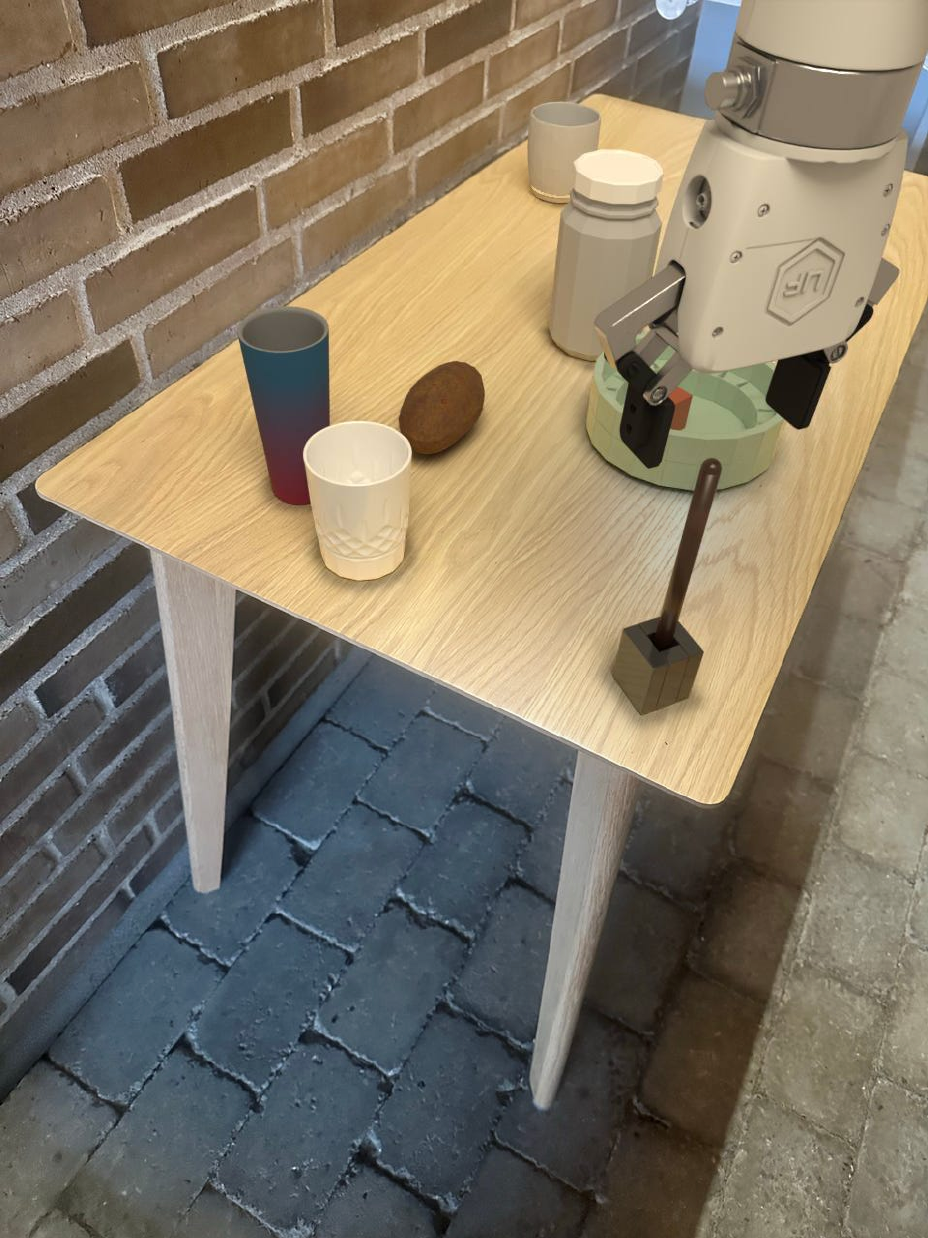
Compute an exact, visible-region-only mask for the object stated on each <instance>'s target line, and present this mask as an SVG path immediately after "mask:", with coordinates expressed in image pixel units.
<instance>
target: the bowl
mask: <svg viewBox="0 0 928 1238" xmlns="http://www.w3.org/2000/svg"><path fill="white" fill-rule="evenodd" d="M648 332H649V331H646V332H642V333H641V334H637V336H636V339H635V343H636V346H637V345H638V344H639V343H640V341H641V340H642V339H643V338H644V337H645V336H646V334H647V333H648ZM676 334H677V335H678V333H676ZM675 352H676V351H675V350H674V349H673V348H672V347H671V346H668V347H667V348H666V349H665V350H664V351H663V353H662V354H661V355H660V356H659V357H658V358H657V359H656V361H655V362H654V363H653V364H652V365H651V366H650V368H651V369H652V370H653V371H654V372H655V373H656V374H657V373H658V371H659V370H660V369H661V368H662V367H663V366H664V365H665V363H666V362H667V361H668V360H669V359H670V358H671V357H672V355H673V354H674V353H675ZM775 367H776V364H775V363H774V361H772V362H767V363H763V364H759V365H754V366H750V367H745V368H741V369H736V370H731V371H727V372H721V373H715V374H705V373H700V372H698V371H696V370H694V369H693V370H692V371H691V372H690V373H689V374H688V375H687V376H686V377H685V378H684V380H683V381H682V382H681V383H680V384H679V385H678V387H680V388H682V389H683V390H685V391H687V392H688V393H690V394H692V395H693V398H692V402H691V406H690V410H689V414H688V418H687V422H686V426H685V428H684V429H682V430H680V431H679V430H673V429H670V431H669V435H668V439H667V443H666V447H665V451H664V455H663V459H662V462H661V463H660V465H659V466H658V467H654V468H651V469H648V468H646V467H645V466H644V464H643V463H642V462H641V461H640V460H639V459H638V458H637V457H636V456H635V455H634V454H633V452H632V451H631V450H630V449H629V448H628V447H627V446H626V445H625V444H624V443H623V442H622V440H621V438H620V432H619V429H620V423H621V418H622V413H623V408H624V403H625V398H626V393H627V388H628V382H627V381H626V380H625V379H624V378H623V377H622V376H621V375H620V374H619V373H618V372H617V371H616V370H615V369H614V368H613V367H612V366H611V365H610V364H609V363H608V362H607V361H606V360H605V358H604V352H603V353H602V354H601V355H600V356H599V357H598V358H597V360H596V361H595V364H594V369H593V373H592V379H591V387H590V393H589V399H588V406H587V412H586V420H585V428H586V431H587V433H588V437H589V440H590V442H591V445H592V446H593V447H594V448H595V449H596V450H597V452H599V454H600V455H601V456H602V457H603V458H604V459H605V460H606V461H608V462H609V463H610V464H612V465H613V466H616V467H617V468H619V469H620V470H621V471H623V472H625V473H626V474H628V475H629V476H632V477H634V478H637V479H639V480H643V481H645V482H648V483H650V484H651V483H652V484H654V485H656V486H662V487H668V488H672V489H673V488H674V489H681V490H688V491H693V492H694V489H695V485H696V481H697V478H698V474H699V470H700V467H701V464H702V462H703V461H704V460H706V459H708V458H716V459H717V460H719V461H720V462H721V464H722V472H721V476H720V479H719V482H718V486H717V489H716V490H725V489H728V488H731V487H735V486H738V485H742V484H745V483H748V482H750V481H752V480H753V479H755V478H756V477H758V476H759V475H760V474H762V473H764V472H766V471H767V470H768V469H769V467H770V465H771V463H772V462H773V460H774V458H775V457H776V454H777V452H778V450H779V447H780V443H781V441H782V438H783V434H784V432H785V429H786V426H787V423H788V422H787V421H786V420H785V419H783V418H782V417H781V416H780V415H779V414H778V413H777V412H775V411H774V410H773V409H772V408H771V407H770V406H769V405H767V403H766V401H765V398H766V395H767V392H768V388H769V385H770V382H771V379H772V376H773V373H774V370H775Z"/></svg>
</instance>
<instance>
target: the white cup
mask: <svg viewBox="0 0 928 1238" xmlns="http://www.w3.org/2000/svg"><path fill="white" fill-rule="evenodd" d="M412 450H413V449H412V448H411V446H410V444H409V442H408V440H407V439H406V438H405V437H404V436H403V435H402V434H401V431H399V430H397V429H395V428H394V427H392V426H389V425H387V424H383V423H379V422H376V421H369V420H348V421H341V422H338V423H337V422H336V423H334V424H330V426H328V427H326V428H324V429H322V430H320V431H318V432H317V433H315V434H314V435H313V436H312V437H311V438H310V439H309V440H308V442H307V443H306V445H305V447H304V451H303V459H304V465H305V471H306V477H307V483H308V489H309V495H310V502H311V503H310V507H311V510H312V511H311V512H312V516H313V520H314V521H313V522H314V527H315V533H316V535H317V537H318V544H319V551H320V555H321V558H322V560H323V562H324V564H325V567H326V568H327V569H329V570H330V571H331V572H333V573H334V574H336V575H337V576H339V577H340V578H345V579H348V580H353V581H359V582H360V581H369V580H370V581H371V580H377V579H380V578H382V577H384V576H386V575H388V574H392V573H393V572H394V571H395V570H396V569H397V568H398V567H399V566H400V565H401V564H402V563H403V562H404V557H405V553H406V552H405V551H406V543H407V542H406V541H407V537H406V536H407V531H408V525H409V514H410V513H409V512H410V499H411V479H412V477H411V474H412V457H413V456H412V455H413V451H412Z"/></svg>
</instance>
